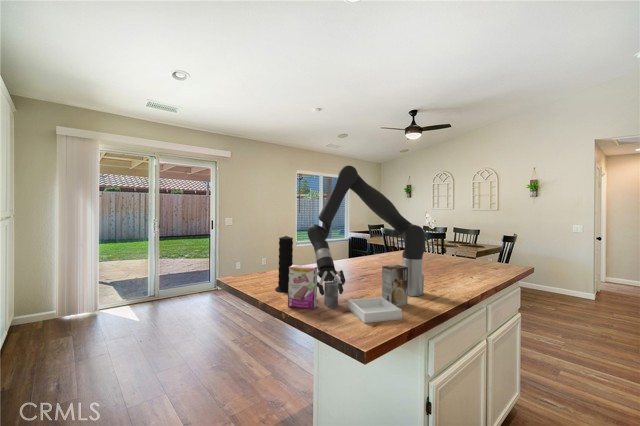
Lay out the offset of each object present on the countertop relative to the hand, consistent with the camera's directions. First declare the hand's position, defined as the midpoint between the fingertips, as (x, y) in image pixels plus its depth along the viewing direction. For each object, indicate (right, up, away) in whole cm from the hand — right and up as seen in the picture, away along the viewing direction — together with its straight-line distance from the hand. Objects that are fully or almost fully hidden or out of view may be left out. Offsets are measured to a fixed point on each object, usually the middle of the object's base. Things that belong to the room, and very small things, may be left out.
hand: (332, 293), depth 115 cm
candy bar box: (-12, -5, -1) cm, 13 cm away
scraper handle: (0, -5, +1) cm, 5 cm away
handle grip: (-22, -5, +22) cm, 32 cm away
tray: (+16, -6, -7) cm, 18 cm away
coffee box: (+27, -6, +4) cm, 28 cm away
